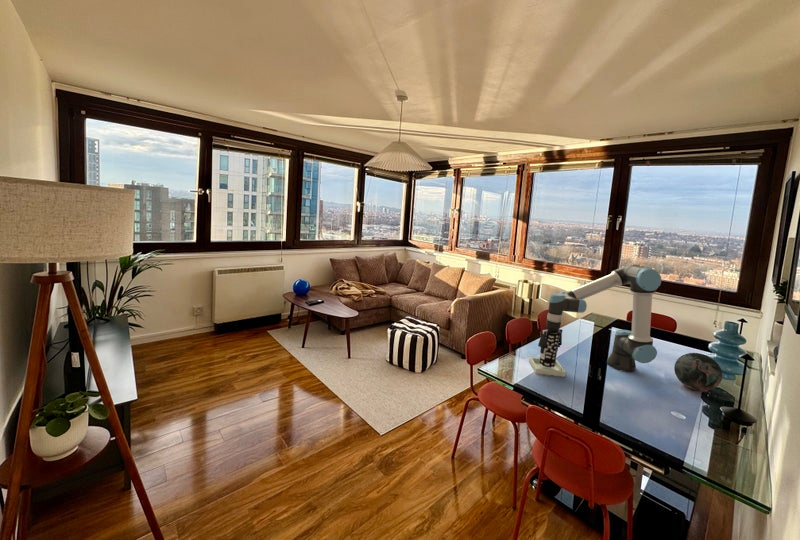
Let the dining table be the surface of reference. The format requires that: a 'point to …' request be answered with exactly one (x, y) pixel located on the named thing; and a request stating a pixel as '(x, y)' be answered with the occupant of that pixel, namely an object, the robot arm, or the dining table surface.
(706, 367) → the decorative sphere
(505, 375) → the dining table surface
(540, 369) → the tray
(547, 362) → the spotted tube
